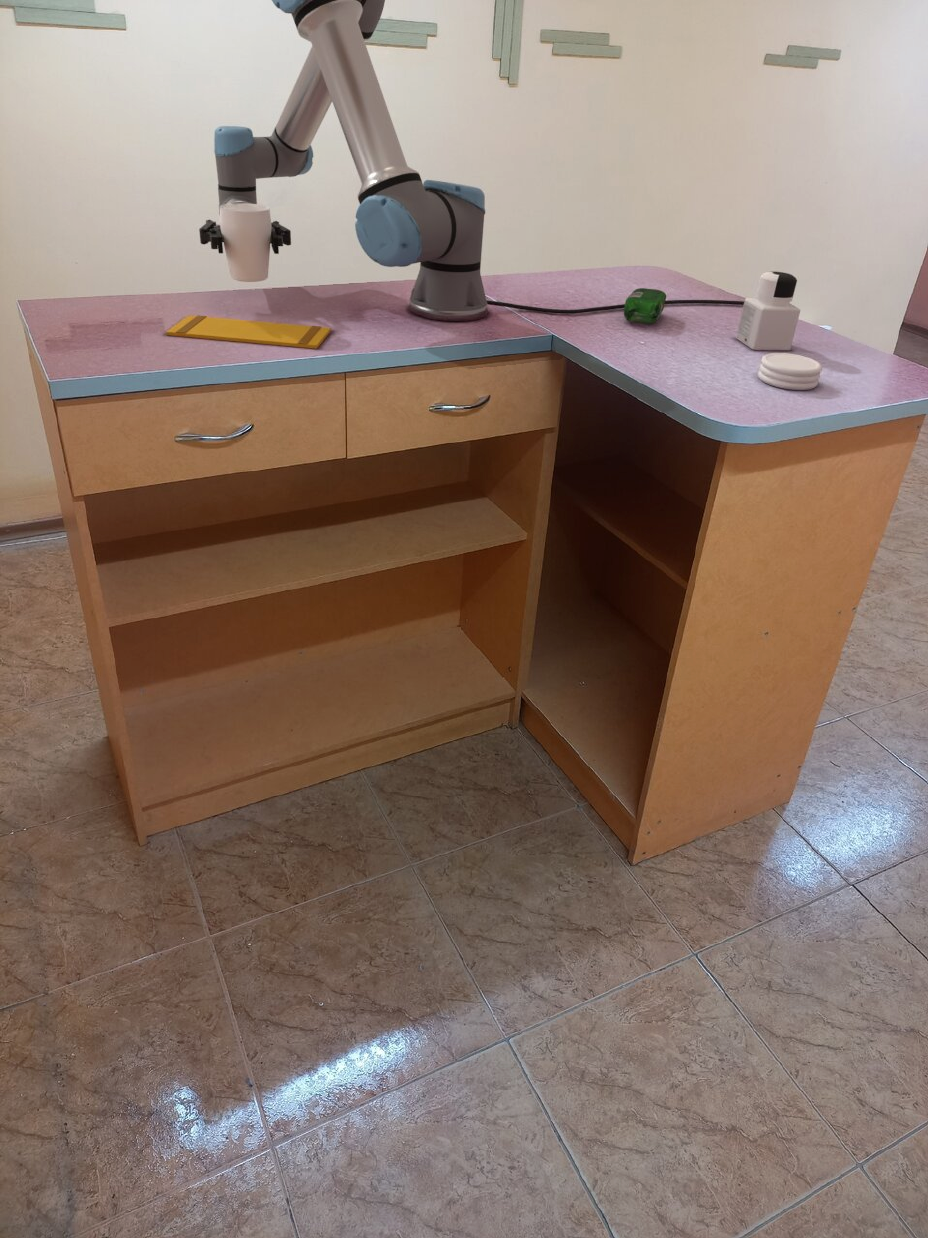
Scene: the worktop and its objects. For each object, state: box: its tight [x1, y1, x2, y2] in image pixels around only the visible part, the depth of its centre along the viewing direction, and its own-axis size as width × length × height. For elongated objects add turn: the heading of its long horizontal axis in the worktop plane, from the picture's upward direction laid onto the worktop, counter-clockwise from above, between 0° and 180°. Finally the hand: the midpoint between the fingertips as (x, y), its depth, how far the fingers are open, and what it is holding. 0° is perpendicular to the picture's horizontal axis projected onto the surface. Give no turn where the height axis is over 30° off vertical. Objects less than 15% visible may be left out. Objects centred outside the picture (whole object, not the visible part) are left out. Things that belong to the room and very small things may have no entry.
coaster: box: [757, 352, 823, 391], centre depth 152 cm, size 10×10×4 cm
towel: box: [165, 314, 332, 350], centre depth 156 cm, size 26×11×1 cm, turn 85°
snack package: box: [623, 287, 667, 325], centre depth 180 cm, size 7×16×5 cm, turn 161°
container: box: [736, 271, 801, 351], centre depth 168 cm, size 8×8×13 cm
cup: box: [218, 203, 272, 283], centre depth 162 cm, size 9×9×12 cm
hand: (248, 245), depth 158 cm, fingers closed on cup, 9 cm apart
